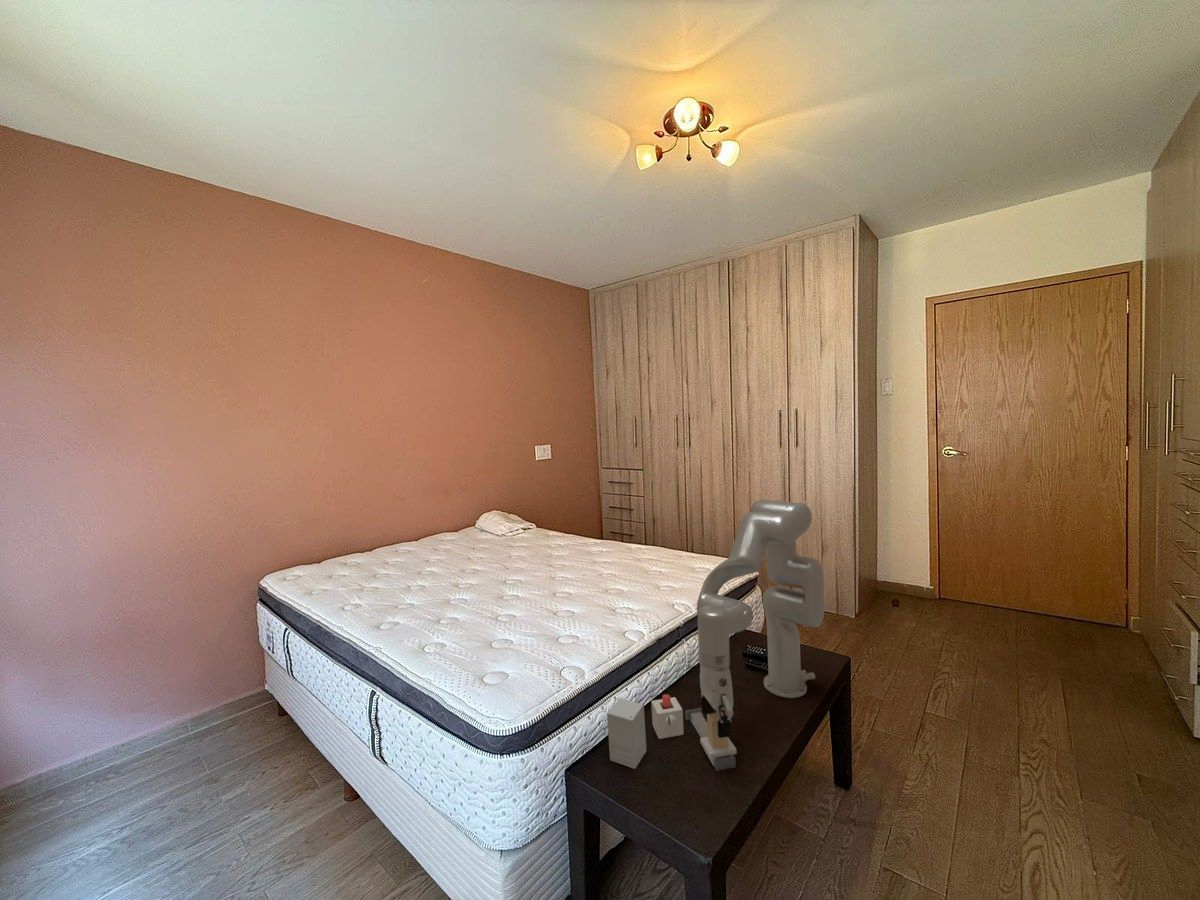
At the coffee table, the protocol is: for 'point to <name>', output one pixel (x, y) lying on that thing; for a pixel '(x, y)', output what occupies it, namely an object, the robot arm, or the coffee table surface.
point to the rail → (702, 730)
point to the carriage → (716, 740)
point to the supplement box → (626, 732)
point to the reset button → (666, 701)
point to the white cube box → (667, 719)
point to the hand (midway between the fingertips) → (715, 723)
